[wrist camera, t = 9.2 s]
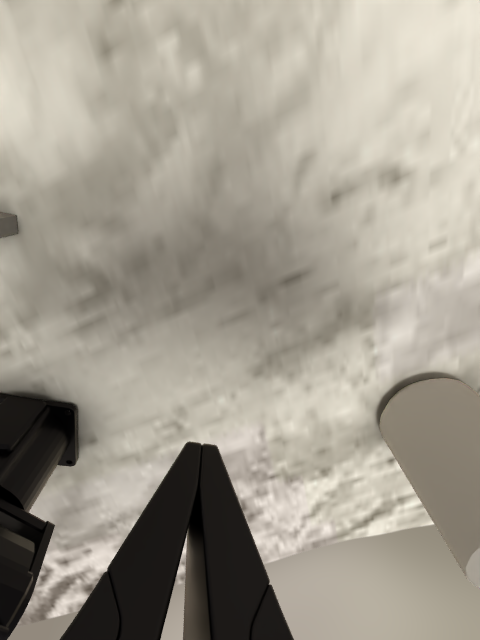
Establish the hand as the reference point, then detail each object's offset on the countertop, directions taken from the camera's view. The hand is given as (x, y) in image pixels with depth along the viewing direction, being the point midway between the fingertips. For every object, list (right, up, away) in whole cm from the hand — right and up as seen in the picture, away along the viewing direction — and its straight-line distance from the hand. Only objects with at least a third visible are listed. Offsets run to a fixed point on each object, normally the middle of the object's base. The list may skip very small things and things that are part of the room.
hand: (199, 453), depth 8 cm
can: (+16, -3, +16) cm, 23 cm away
